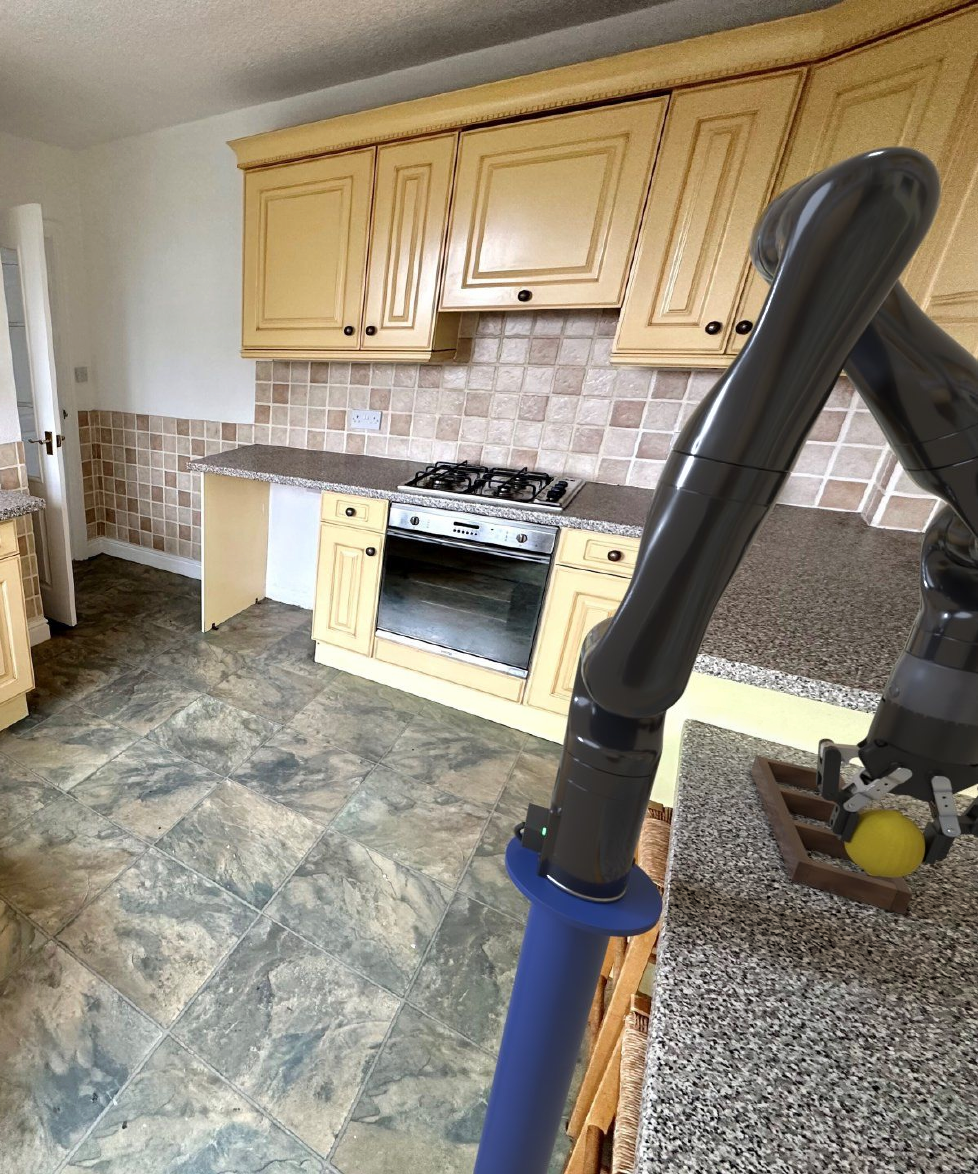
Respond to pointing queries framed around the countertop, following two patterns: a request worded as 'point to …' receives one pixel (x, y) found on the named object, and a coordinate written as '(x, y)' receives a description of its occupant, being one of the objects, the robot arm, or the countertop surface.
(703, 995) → the countertop surface
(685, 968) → the countertop surface
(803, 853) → the rack
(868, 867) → the lemon
